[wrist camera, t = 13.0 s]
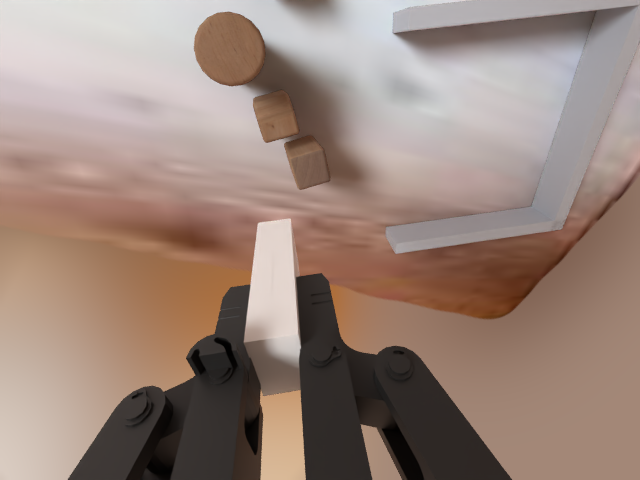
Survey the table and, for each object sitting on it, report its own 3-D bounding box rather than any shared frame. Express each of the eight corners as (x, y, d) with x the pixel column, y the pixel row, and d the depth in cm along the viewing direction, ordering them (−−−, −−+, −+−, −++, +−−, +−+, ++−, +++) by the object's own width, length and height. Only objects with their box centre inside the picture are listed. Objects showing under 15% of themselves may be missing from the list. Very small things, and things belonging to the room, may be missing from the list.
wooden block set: (331, 154, 33) (359, 185, 24) (257, 176, 32) (258, 216, 24) (284, -66, 23) (301, -146, 15) (178, -38, 23) (131, -102, 14)
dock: (393, 12, 26) (410, 7, 23) (618, -12, 27) (665, -21, 24) (385, 236, 40) (395, 253, 36) (538, 214, 41) (561, 229, 37)
